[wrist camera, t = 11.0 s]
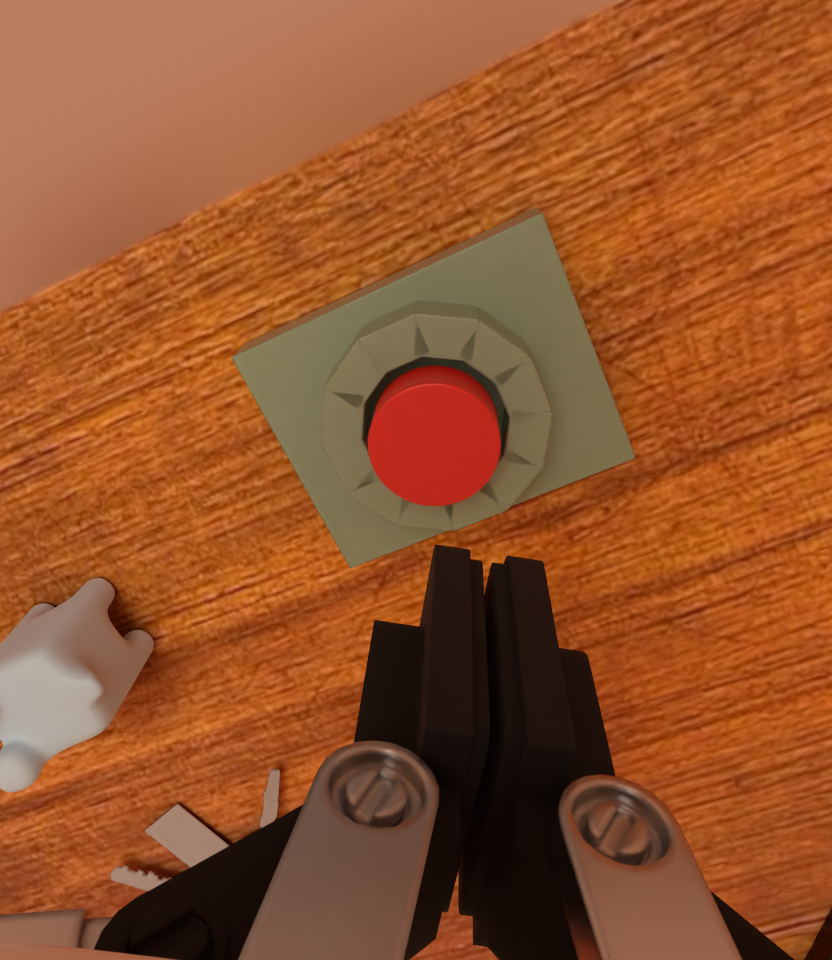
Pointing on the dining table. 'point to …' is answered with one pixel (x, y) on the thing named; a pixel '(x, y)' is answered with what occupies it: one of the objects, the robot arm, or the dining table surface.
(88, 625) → the figurine
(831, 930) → the switch bracket
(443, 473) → the button
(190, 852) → the key chain
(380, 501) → the control block
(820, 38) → the dining table surface
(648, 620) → the dining table surface
